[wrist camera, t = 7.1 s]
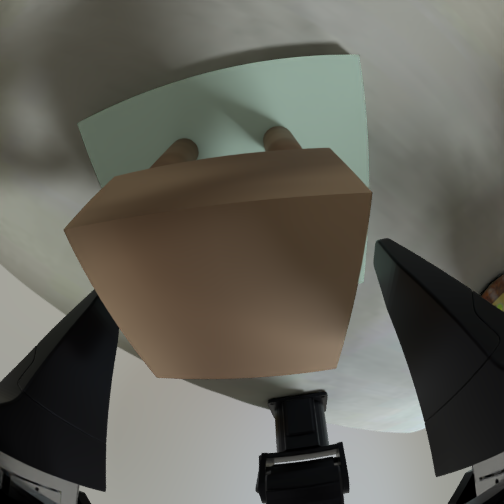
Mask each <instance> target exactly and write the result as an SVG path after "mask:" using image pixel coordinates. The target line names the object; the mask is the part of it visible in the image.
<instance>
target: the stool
mask: <svg viewBox="0 0 504 504" xmlns="http://www.w3.org/2000/svg"><path fill="white" fill-rule="evenodd" d="M263 144H264V148H265V151H264V152H254V153H245V154H236V155H228V156H220V157H213V158H206V159H199V160H197V158H198V154H199V151H198V147H197V145H196V144H195V143H194V142H193V141H192V140H190V139H186V138H182V139H178V140H177V141H175V142H174V143H173V144H172V145H171V146H170V147H169V148H168V149H167V150H166V151H165V152H164V153H163V154H162V155H161V156H160V157H159V158H158V159H157V160H156V162H155V163H154V164H153V165H152V166H151V167H150V168H149V169H145V170H140V171H136V172H131V173H127V174H123V175H119V176H114V177H113V178H112V179H111V180H110V181H109V182H108V183H107V184H106V185H105V186H104V187H103V188H102V189H101V190H100V191H99V192H98V193H97V194H96V195H95V196H94V197H93V198H92V199H91V200H90V201H89V202H88V203H87V204H86V205H85V206H84V207H83V208H82V210H81V211H80V212H79V213H78V214H77V215H76V216H75V217H74V218H73V219H72V221H71V222H70V223H69V224H68V225H67V226H66V227H65V229H64V232H65V234H66V236H67V238H68V241H69V243H70V245H71V247H72V249H73V251H74V253H75V255H76V257H77V258H78V260H79V262H80V264H81V266H82V268H83V270H84V271H85V273H86V275H87V277H88V279H89V280H90V282H91V284H92V286H93V287H94V289H95V291H96V292H97V294H98V296H99V297H100V299H101V301H102V302H103V304H104V305H105V307H106V309H107V310H108V312H109V313H110V315H111V316H112V318H113V319H114V321H115V322H116V324H117V325H118V327H119V328H120V330H121V331H122V332H123V334H124V335H125V337H126V338H127V340H128V341H129V342H130V344H131V345H132V346H133V348H134V349H135V350H136V352H137V353H138V354H139V356H140V357H141V358H142V360H143V361H144V362H145V364H146V365H147V366H148V367H149V369H150V370H151V371H152V372H153V374H154V375H155V376H156V377H157V378H175V379H234V378H254V377H269V376H281V375H291V374H300V373H308V372H315V371H323V370H329V369H336V367H337V364H338V361H339V357H340V354H341V351H342V347H343V344H344V340H345V336H346V332H347V329H348V325H349V321H350V317H351V313H352V309H353V304H354V300H355V295H356V291H357V286H358V281H359V276H360V271H361V266H362V261H363V255H364V249H365V243H366V237H367V230H368V223H369V216H370V208H371V200H372V192H371V191H370V189H369V188H368V187H367V186H366V185H365V184H364V183H363V182H362V181H361V180H360V178H359V177H358V176H357V175H356V174H355V173H354V172H353V171H352V170H351V169H350V168H349V167H348V166H347V165H346V164H345V163H344V162H343V161H342V160H341V159H340V158H339V157H338V156H337V155H336V154H335V153H334V152H333V151H332V150H331V149H330V148H307V149H302V147H301V146H300V144H299V143H298V142H297V140H296V139H295V137H294V136H293V135H292V133H291V132H290V131H289V130H288V129H287V128H285V127H282V126H275V127H272V128H270V129H269V130H267V131H266V133H265V134H264V137H263Z"/></svg>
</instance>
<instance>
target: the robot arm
mask: <svg viewBox="0 0 504 504" xmlns="http://www.w3.org/2000/svg"><path fill="white" fill-rule="evenodd" d="M374 268H375V271H376V274H377V278H378V281H379V284H380V287H381V291H382V294H383V297H384V301H385V304H386V307H387V310H388V313H389V315H390V318H391V320H392V323H393V326H394V328H395V331H396V333H397V336H398V339H399V341H400V344H401V347H402V350H403V353H404V355H405V358H406V361H407V364H408V367H409V370H410V373H411V376H412V380H413V383H414V386H415V389H416V393H417V396H418V400H419V403H420V407H421V410H422V414H423V418H424V422H425V427H426V431H427V434H428V439H429V444H430V449H431V453H432V459H433V464H434V469H435V475H436V477H438V476H442V475H445V474H448V473H452V472H455V471H458V470H461V469H464V468H466V467H469V466H472V470H470V471H468V472H466V473H465V475H464V477H463V479H462V480H461V482H460V484H459V486H458V487H457V489H456V491H455V493H454V494H453V496H452V497H451V499H450V501H449V502H448V504H504V311H502V310H500V309H499V308H497V307H496V306H494V305H493V304H491V303H490V302H488V301H487V300H485V299H484V298H483V297H481V296H480V295H478V294H477V293H475V292H474V291H472V290H471V289H470V288H468V287H467V286H465V285H464V284H462V283H461V282H459V281H458V280H456V279H455V278H453V277H452V276H450V275H449V274H447V273H445V272H444V271H442V270H441V269H439V268H438V267H436V266H434V265H433V264H431V263H430V262H428V261H426V260H425V259H423V258H421V257H420V256H418V255H416V254H415V253H413V252H411V251H410V250H408V249H406V248H405V247H403V246H401V245H400V244H398V243H396V242H394V241H393V240H391V239H389V238H386V239H380V240H377V241H376V243H375V252H374ZM118 335H119V327H118V325H117V324H116V322H115V321H114V319H113V318H112V316H111V315H110V313H109V312H108V310H107V309H106V307H105V305H104V304H103V302H102V301H101V299H100V297H99V296H98V294H97V292H96V291H95V289H94V290H93V291H92V292H91V293H90V294H89V295H88V296H87V297H85V298H84V299H83V300H82V301H81V302H80V303H79V304H78V305H77V306H76V307H75V308H74V309H73V310H72V311H71V312H69V313H68V314H67V315H66V316H65V317H64V318H63V319H62V320H61V321H60V322H59V323H58V324H57V325H56V326H55V327H54V328H53V329H52V330H51V331H50V332H49V333H48V334H47V335H46V336H45V337H44V338H43V339H42V340H41V341H40V342H39V343H38V345H37V346H35V348H33V350H32V351H31V352H30V353H29V354H28V355H27V356H26V357H25V358H24V359H23V360H22V361H21V362H20V363H19V364H18V365H17V366H16V367H15V368H14V369H13V370H12V371H11V372H10V373H9V374H8V375H7V376H6V377H5V378H4V379H3V380H2V381H1V382H0V504H91V503H90V501H89V499H88V498H87V496H86V494H85V493H84V492H81V491H79V485H82V486H85V487H88V488H92V489H95V490H99V491H103V492H105V491H106V437H107V422H108V410H109V400H110V391H111V383H112V375H113V369H114V361H115V355H116V350H117V344H118ZM326 404H327V392H320V393H314V394H308V395H302V396H295V397H288V398H280V399H271V400H268V406H269V408H270V410H271V412H272V414H273V416H274V418H275V426H276V444H277V453H262V454H261V455H260V456H259V472H258V478H257V484H256V492H257V493H259V495H260V497H261V501H262V503H266V504H344V497H343V494H345V493H349V477H348V470H347V465H346V459H345V454H344V448H343V443H342V442H339V443H337V444H333V445H329V441H328V434H327V427H326V420H325V413H324V412H325V411H326ZM333 454H336V456H337V457H334V458H333V457H327V458H323V459H316V460H310V461H303V462H295V463H286V464H275V465H274V463H278V462H288V461H297V460H304V459H311V458H317V457H323V456H328V455H333Z"/></svg>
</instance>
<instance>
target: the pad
mask: <svg viewBox="0 0 504 504" xmlns="http://www.w3.org/2000/svg"><path fill="white" fill-rule="evenodd" d="M77 124H78V127H79V130H80V133H81V136H82V139H83V142H84V144H85V147H86V150H87V153H88V155H89V158H90V160H91V163H92V166H93V168H94V171H95V173H96V176H97V178H98V180H99V183H100V185H101V188H103V187H104V186H105V185H106V184H107V183H108V182H109V181H110V180H111V179H112V178H113V177H114V176H119V175H123V174H127V173H131V172H136V171H140V170H145V169H149V168H150V167H151V166H152V165H153V164H154V163H155V162H156V160H157V159H158V158H159V157H160V156H161V155H162V154H163V153H164V152H165V151H166V150H167V149H168V148H169V147H170V146H171V145H172V144H173V143H174V142H175V141H177V140H178V139H182V138H186V139H190V140H192V141H193V142H194V143H195V144H196V145H197V147H198V151H199V154H198V158H197V160H199V159H206V158H213V157H220V156H228V155H236V154H245V153H254V152H264V151H265V148H264V144H263V137H264V134H265V133H266V131H267V130H269V129H270V128H272V127H275V126H282V127H285V128H287V129H288V130H289V131H290V132H291V133H292V135H293V136H294V137H295V139H296V140H297V142H298V143H299V144H300V146H301V147H302V149H307V148H330V149H331V150H332V151H333V152H334V153H335V154H336V155H337V156H338V157H339V158H340V159H341V160H342V161H343V162H344V163H345V164H346V165H347V166H348V167H349V168H350V169H351V170H352V171H353V172H354V173H355V174H356V175H357V176H358V177H359V178H360V180H361V181H362V182H363V183H364V184H365V185H366V186H367V187H368V188H369V153H368V132H367V118H366V106H365V96H364V87H363V79H362V72H361V65H360V59H359V55H318V56H303V57H292V58H283V59H275V60H268V61H261V62H255V63H249V64H244V65H239V66H234V67H229V68H225V69H220V70H216V71H212V72H208V73H204V74H200V75H197V76H193V77H189V78H186V79H183V80H179V81H176V82H173V83H170V84H167V85H164V86H161V87H158V88H155V89H153V90H150V91H147V92H145V93H142V94H139V95H137V96H134V97H132V98H129V99H127V100H125V101H122V102H120V103H118V104H115V105H113V106H111V107H109V108H107V109H105V110H102V111H100V112H98V113H96V114H94V115H92V116H90V117H88V118H86V119H84V120H82V121H81V122H79V123H77ZM367 234H368V230H367ZM366 249H367V237H366V243H365V249H364V255H363V261H362V266H361V271H360V276H359V281H358V284H359V283H363V282H364V272H365V262H366Z"/></svg>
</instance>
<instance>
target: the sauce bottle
mask: <svg viewBox="0 0 504 504" xmlns="http://www.w3.org/2000/svg"><path fill="white" fill-rule="evenodd" d="M481 297H483V298H484V299H485V300H487V301H488V302H490V303H491V304H493V305H494V306H496V307H497V308H499V309H500V310H502V311H504V274H503V275H502V276H500V277H499V278H498V279H496V280H495V281H494V282H492V283H491V284H490V285H489V287H488V288H487V289H486V290H485V292H484V293H483V294H482V295H481Z"/></svg>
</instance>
